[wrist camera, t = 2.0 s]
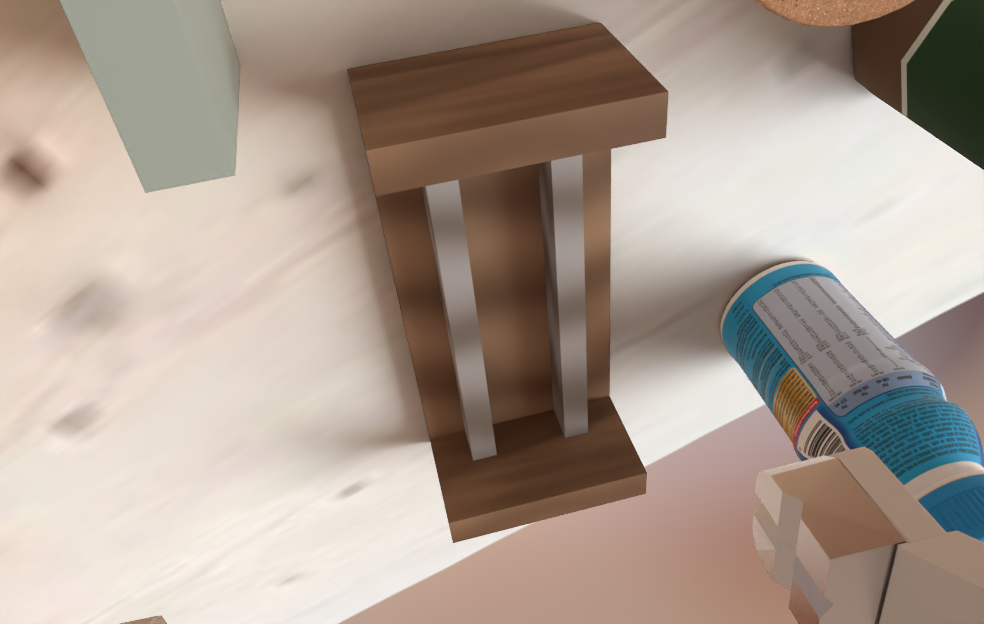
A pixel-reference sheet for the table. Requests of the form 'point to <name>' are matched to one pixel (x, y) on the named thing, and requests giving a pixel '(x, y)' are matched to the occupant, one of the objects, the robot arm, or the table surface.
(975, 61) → the beer bottle
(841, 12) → the lidded bowl
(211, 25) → the grey-green rectangular block
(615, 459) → the door track
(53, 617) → the table surface
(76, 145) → the table surface
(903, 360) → the beverage bottle
